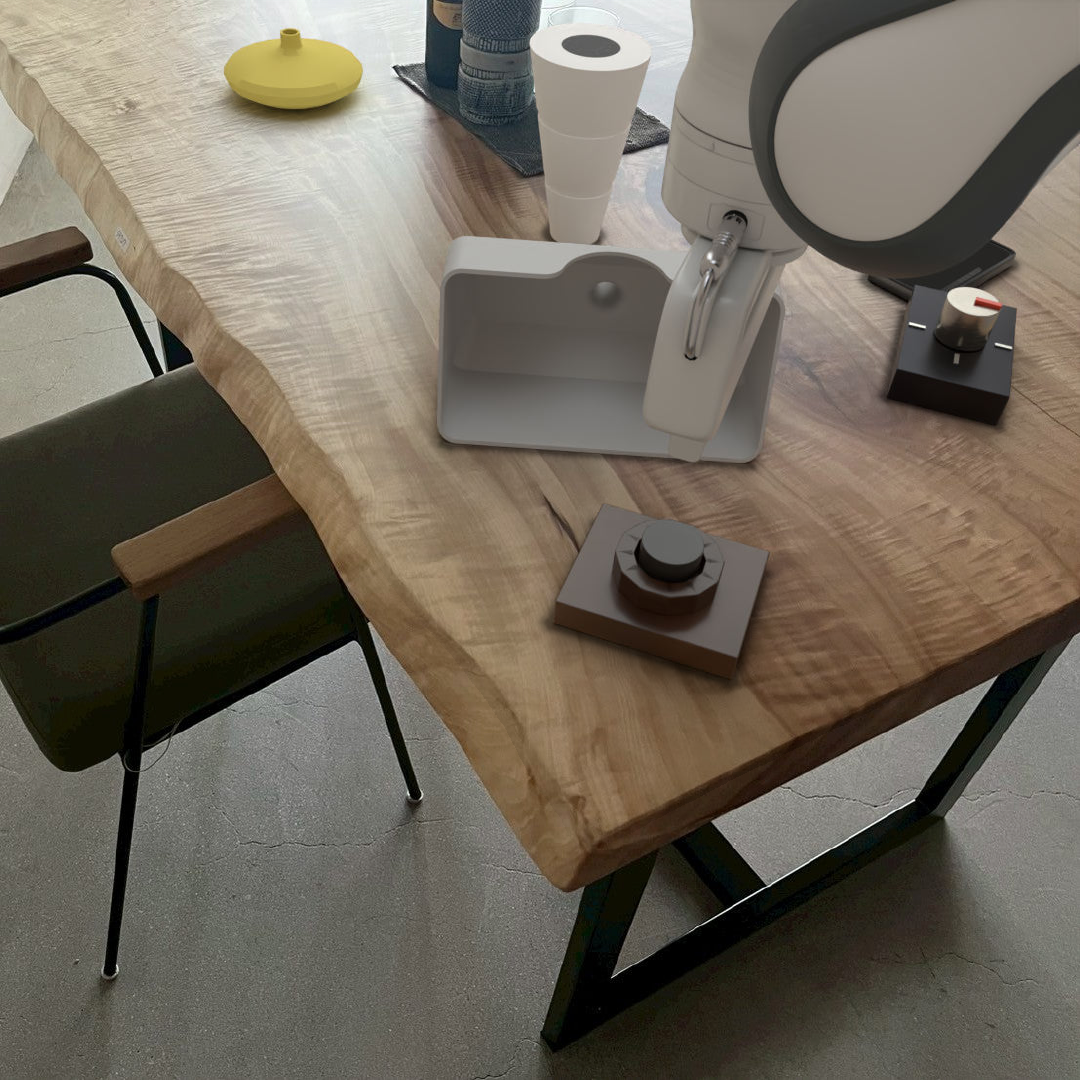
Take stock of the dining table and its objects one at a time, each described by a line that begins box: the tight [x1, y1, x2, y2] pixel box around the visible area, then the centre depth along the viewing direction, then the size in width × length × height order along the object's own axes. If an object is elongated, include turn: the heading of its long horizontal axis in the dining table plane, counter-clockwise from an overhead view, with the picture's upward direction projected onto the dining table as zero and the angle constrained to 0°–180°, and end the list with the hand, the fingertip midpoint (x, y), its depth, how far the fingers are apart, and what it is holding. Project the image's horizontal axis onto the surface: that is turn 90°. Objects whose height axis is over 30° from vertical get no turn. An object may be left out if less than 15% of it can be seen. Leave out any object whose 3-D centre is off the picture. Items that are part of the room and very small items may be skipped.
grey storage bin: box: [436, 235, 786, 464], centre depth 82 cm, size 25×16×12 cm, turn 88°
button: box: [639, 519, 704, 583], centre depth 67 cm, size 4×4×2 cm
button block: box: [553, 502, 771, 680], centre depth 69 cm, size 12×10×4 cm
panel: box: [886, 285, 1018, 426], centre depth 90 cm, size 14×9×3 cm, turn 160°
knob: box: [934, 287, 1003, 351], centre depth 88 cm, size 4×4×4 cm
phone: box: [867, 238, 1017, 302], centre depth 102 cm, size 8×1×15 cm
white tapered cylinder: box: [529, 22, 653, 245], centre depth 97 cm, size 11×11×18 cm
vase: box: [223, 27, 364, 110], centre depth 120 cm, size 16×16×7 cm
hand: (707, 402), depth 59 cm, fingers open, 8 cm apart
